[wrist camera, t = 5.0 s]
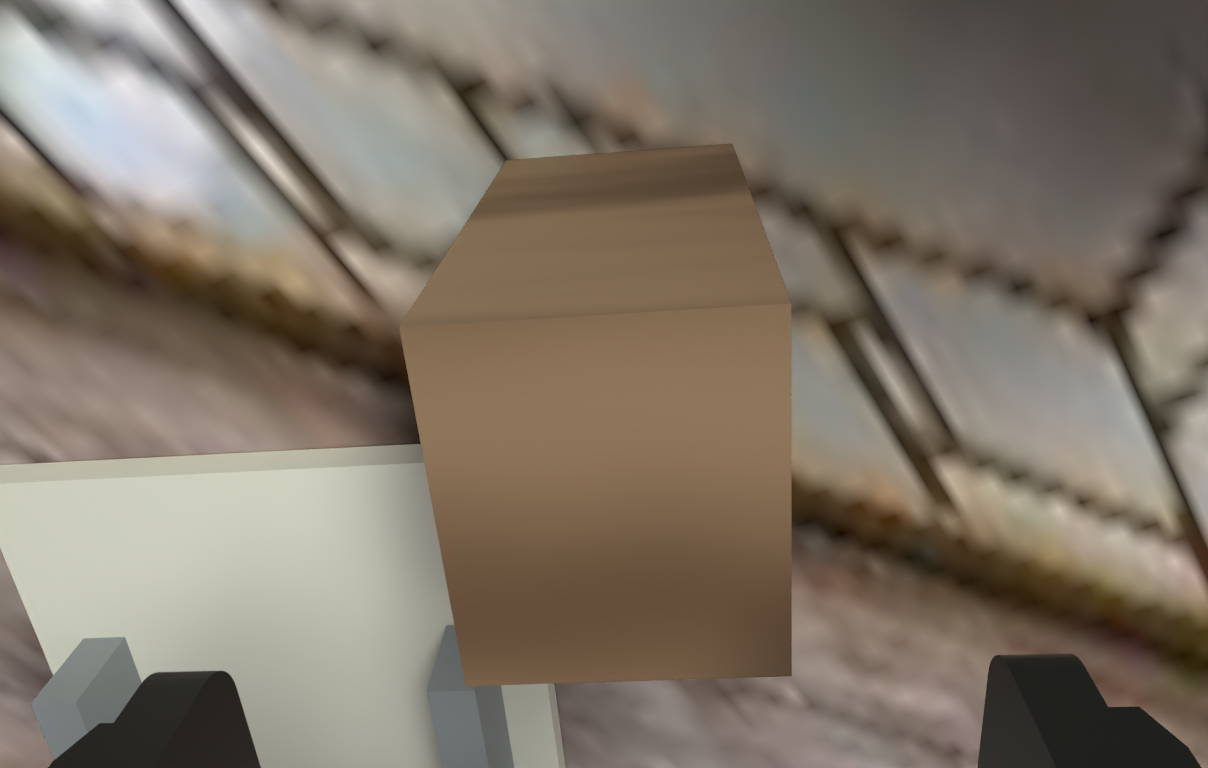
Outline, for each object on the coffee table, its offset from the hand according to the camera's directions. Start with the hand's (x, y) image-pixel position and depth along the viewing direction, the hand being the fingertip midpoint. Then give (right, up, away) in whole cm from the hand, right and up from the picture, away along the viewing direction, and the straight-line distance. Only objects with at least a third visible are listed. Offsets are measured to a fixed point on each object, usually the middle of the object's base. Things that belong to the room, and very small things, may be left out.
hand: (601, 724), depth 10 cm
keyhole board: (-8, -8, +19) cm, 22 cm away
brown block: (+1, +6, +12) cm, 14 cm away
